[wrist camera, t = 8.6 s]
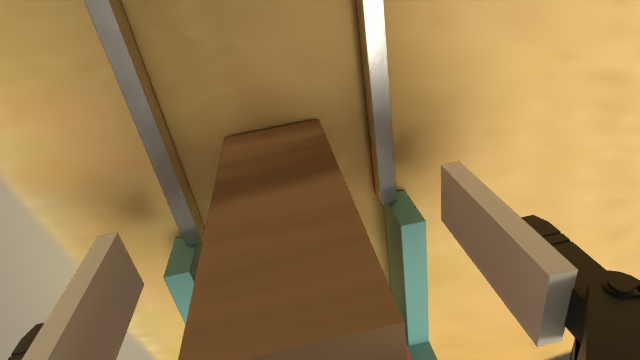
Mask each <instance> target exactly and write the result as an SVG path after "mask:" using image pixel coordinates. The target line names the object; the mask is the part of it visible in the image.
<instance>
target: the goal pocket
mask: <svg viewBox="0 0 640 360" xmlns="http://www.w3.org/2000/svg"><path fill="white" fill-rule="evenodd" d="M396 195H397V201H396V202H392V203H387V204H384V213H385V224H386V235H387V247H388V258H389V269H390V280H391V292H392V294H393V296H394V299H395V301H396V303H397V306H398V308H399V310H400V313H401V315H402V317H403V320H404V322H405V336H406V346H407V349H408V351H409V354H410V356H411V359H412V360H437V358H436V356H435V353H434V351H433V349H432V347H431V345H430V343H429V330H428V291H427V253H426V221H425V219H424V218H423V216H422V215H421V213H420V212H419V211H418V209H417V208H416V206H415V205H414V203H413V202H412V200H411V199H410V197H409V196H408V195H407V193H406V192H405V190H402V191H398V192H396ZM201 248H202V243H199V244H194V245H189V246H186V245H185V243H184V240H183V238H182V237H180V238H176V239H175V242H174V245H173V248H172V252H171V255H170V258H169V261H168V264H167V267H166V271H165V274H164V277H163V278H164V280H165V282H166V284H167V286H168V289H169V291H170V293H171V295H172V297H173V299H174V301H175V303H176V305H177V308H178V310H179V312H180V314H181V316H182V318H183V320H184V322H185V324H186V320H187V315H188V311H189V306H190V301H191V296H192V292H193V287H194V282H195V277H196V272H197V268H198V263H199V258H200V253H201Z"/></svg>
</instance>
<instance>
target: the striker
mask: <svg viewBox="0 0 640 360" xmlns="http://www.w3.org/2000/svg"><path fill="white" fill-rule="evenodd" d="M178 360H407V350H406V336H405V322H404V320H403V317H402V315H401V313H400V310H399V308H398V306H397V303H396V301H395V299H394V296H393V294H392V292H391V289H390V287H389V284H388V282H387V280H386V277H385V275H384V273H383V270H382V268H381V266H380V263H379V261H378V259H377V256H376V254H375V251H374V249H373V247H372V244H371V242H370V240H369V237H368V235H367V233H366V230H365V228H364V226H363V223H362V221H361V218H360V216H359V214H358V211H357V209H356V207H355V204H354V202H353V200H352V197H351V195H350V193H349V190H348V188H347V186H346V183H345V181H344V178H343V176H342V174H341V171H340V169H339V167H338V164H337V162H336V160H335V157H334V155H333V153H332V150H331V148H330V145H329V143H328V141H327V138H326V136H325V134H324V131H323V129H322V127H321V124H320V122H319V120H318V119H316V120H311V121H306V122H301V123H296V124H291V125H286V126H281V127H276V128H271V129H266V130H261V131H256V132H251V133H246V134H241V135H236V136H231V137H226V138H224V143H223V148H222V153H221V158H220V162H219V167H218V172H217V177H216V182H215V186H214V191H213V196H212V201H211V205H210V210H209V215H208V220H207V225H206V229H205V234H204V239H203V244H202V248H201V253H200V258H199V263H198V268H197V272H196V277H195V282H194V287H193V292H192V296H191V301H190V306H189V311H188V315H187V320H186V325H185V330H184V335H183V339H182V344H181V349H180V354H179V359H178Z"/></svg>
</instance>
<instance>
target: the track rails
mask: <svg viewBox="0 0 640 360" xmlns="http://www.w3.org/2000/svg"><path fill="white" fill-rule="evenodd" d="M84 1H85V4H86V6H87V8H88V11H89V13H90V16H91V18H92V20H93V23H94V25H95V28H96V30H97V33H98V35H99V37H100V40H101V42H102V45H103V47H104V49H105V52H106V54H107V57H108V59H109V62H110V64H111V66H112V69H113V71H114V74H115V76H116V78H117V81H118V83H119V86H120V88H121V91H122V93H123V95H124V98H125V100H126V103H127V105H128V107H129V110H130V112H131V115H132V117H133V120H134V122H135V124H136V127H137V129H138V132H139V134H140V137H141V139H142V141H143V144H144V146H145V149H146V151H147V153H148V156H149V158H150V161H151V163H152V166H153V168H154V170H155V173H156V175H157V178H158V180H159V182H160V185H161V187H162V190H163V192H164V195H165V197H166V199H167V202H168V204H169V207H170V209H171V211H172V214H173V216H174V219H175V221H176V224H177V226H178V228H179V231H180V233H181V236H182V238H183V240H184V243H185V245H186V246H189V245H194V244H199V243H202V240H203V235H204V231H205V228H204V225H203V223H202V220H201V217H200V214H199V212H198V209H197V206H196V204H195V201H194V198H193V196H192V193H191V190H190V188H189V185H188V182H187V180H186V177H185V174H184V172H183V169H182V166H181V164H180V161H179V158H178V155H177V153H176V150H175V147H174V145H173V142H172V139H171V137H170V134H169V131H168V129H167V126H166V123H165V121H164V118H163V115H162V113H161V110H160V107H159V104H158V102H157V99H156V96H155V94H154V91H153V88H152V86H151V83H150V80H149V78H148V75H147V72H146V70H145V67H144V64H143V62H142V59H141V56H140V53H139V51H138V48H137V45H136V43H135V40H134V37H133V35H132V32H131V29H130V27H129V24H128V21H127V19H126V16H125V13H124V11H123V8H122V5H121V2H120V0H84ZM356 4H357V14H358V24H359V34H360V44H361V54H362V64H363V74H364V84H365V94H366V104H367V114H368V124H369V134H370V144H371V154H372V164H373V174H374V184H375V193H376V195H377V197H378V199H379V201H380V202H381V204H387V203H392V202H396V201H397V195H396V181H395V166H394V152H393V137H392V122H391V108H390V93H389V79H388V64H387V50H386V35H385V20H384V6H383V0H356Z"/></svg>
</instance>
